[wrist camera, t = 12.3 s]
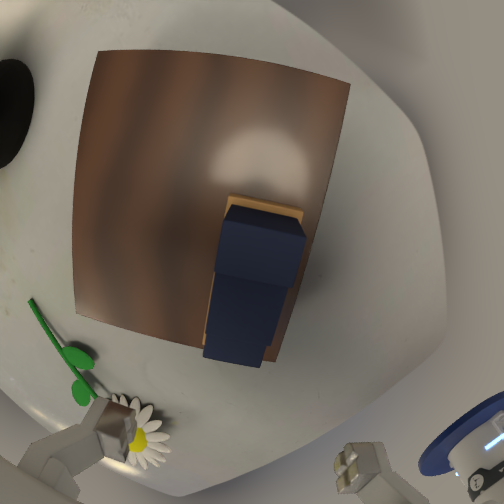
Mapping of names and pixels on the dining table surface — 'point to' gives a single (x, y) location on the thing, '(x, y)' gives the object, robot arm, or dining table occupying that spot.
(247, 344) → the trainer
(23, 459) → the robot arm
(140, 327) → the brown wooden stand
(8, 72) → the lantern
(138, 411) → the decorative flower
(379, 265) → the dining table surface
